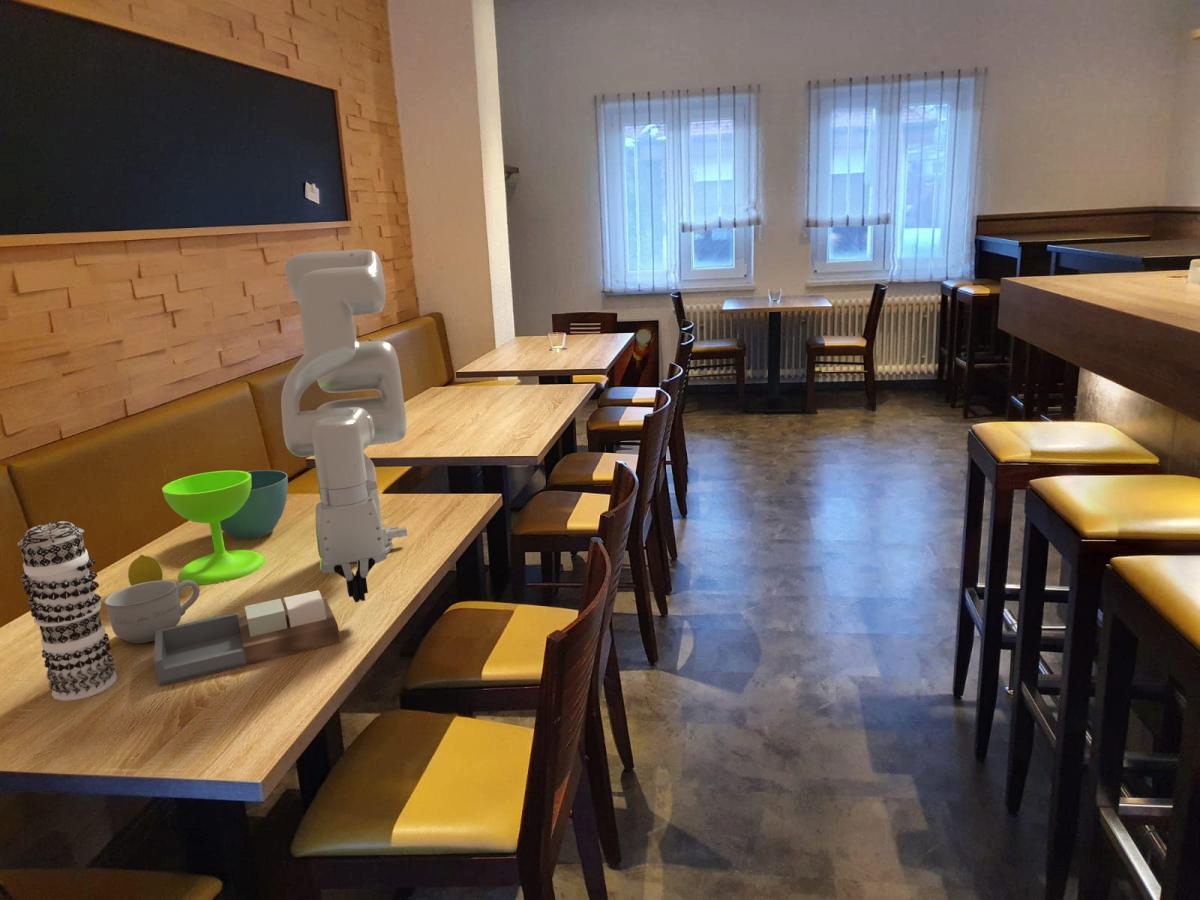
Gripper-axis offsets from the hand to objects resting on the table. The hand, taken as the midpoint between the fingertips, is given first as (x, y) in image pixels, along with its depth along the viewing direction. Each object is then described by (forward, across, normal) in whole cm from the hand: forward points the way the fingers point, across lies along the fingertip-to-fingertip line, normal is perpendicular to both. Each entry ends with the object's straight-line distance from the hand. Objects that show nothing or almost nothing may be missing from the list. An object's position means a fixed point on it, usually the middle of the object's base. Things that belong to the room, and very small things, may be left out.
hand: (358, 598), depth 143 cm
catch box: (+4, +25, 0) cm, 25 cm away
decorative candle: (+4, +41, -1) cm, 41 cm away
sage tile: (+1, +15, 0) cm, 15 cm away
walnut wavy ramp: (+4, +12, 0) cm, 12 cm away
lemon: (+4, +32, -34) cm, 47 cm away
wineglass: (+4, +19, -41) cm, 45 cm away
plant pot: (+4, +12, -60) cm, 61 cm away
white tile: (+1, +9, 0) cm, 9 cm away
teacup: (+4, +30, -15) cm, 34 cm away
